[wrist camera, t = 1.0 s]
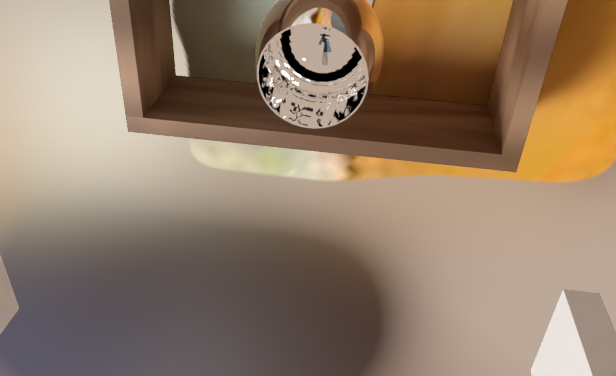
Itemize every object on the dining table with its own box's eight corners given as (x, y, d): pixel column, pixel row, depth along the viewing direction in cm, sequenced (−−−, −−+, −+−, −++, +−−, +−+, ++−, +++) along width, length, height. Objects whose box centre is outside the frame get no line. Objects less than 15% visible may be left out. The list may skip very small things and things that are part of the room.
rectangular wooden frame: (137, -158, 30) (87, -148, 25) (566, -129, 29) (601, -112, 24) (162, 88, 38) (128, 131, 33) (499, 121, 37) (516, 171, 32)
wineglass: (273, -41, 33) (222, 29, 23) (372, -72, 31) (362, -10, 22) (303, 53, 36) (270, 151, 26) (395, 29, 34) (397, 124, 24)
